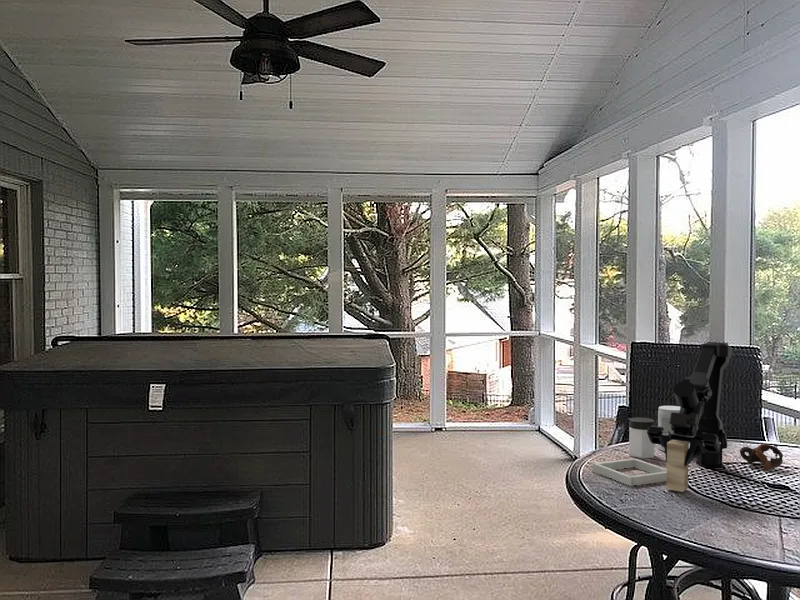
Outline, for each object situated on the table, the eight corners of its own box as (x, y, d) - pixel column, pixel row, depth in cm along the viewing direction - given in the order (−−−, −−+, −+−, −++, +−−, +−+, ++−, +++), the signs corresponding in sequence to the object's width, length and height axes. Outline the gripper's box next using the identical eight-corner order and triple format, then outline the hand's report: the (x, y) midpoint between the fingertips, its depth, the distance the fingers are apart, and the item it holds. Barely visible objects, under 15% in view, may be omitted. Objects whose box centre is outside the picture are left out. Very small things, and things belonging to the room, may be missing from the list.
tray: (634, 466, 217) (634, 458, 217) (674, 480, 202) (674, 471, 202) (592, 471, 211) (592, 463, 211) (630, 486, 196) (630, 477, 196)
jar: (660, 456, 230) (661, 420, 230) (647, 460, 225) (647, 423, 225) (636, 450, 237) (637, 416, 237) (622, 454, 232) (623, 419, 232)
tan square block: (671, 485, 196) (672, 439, 195) (688, 488, 193) (688, 441, 192) (666, 488, 192) (667, 442, 192) (683, 492, 189) (683, 444, 189)
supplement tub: (693, 452, 235) (694, 409, 235) (668, 454, 233) (669, 410, 232) (675, 446, 244) (676, 404, 244) (651, 447, 242) (652, 405, 242)
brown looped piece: (774, 465, 222) (784, 446, 217) (776, 485, 214) (787, 466, 210) (734, 453, 225) (744, 434, 221) (735, 472, 217) (745, 453, 213)
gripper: (649, 397, 201) (635, 442, 192) (718, 405, 189) (706, 453, 181) (658, 420, 207) (644, 464, 199) (725, 429, 195) (713, 476, 187)
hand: (676, 464), depth 191 cm, fingers closed on tan square block, 4 cm apart
